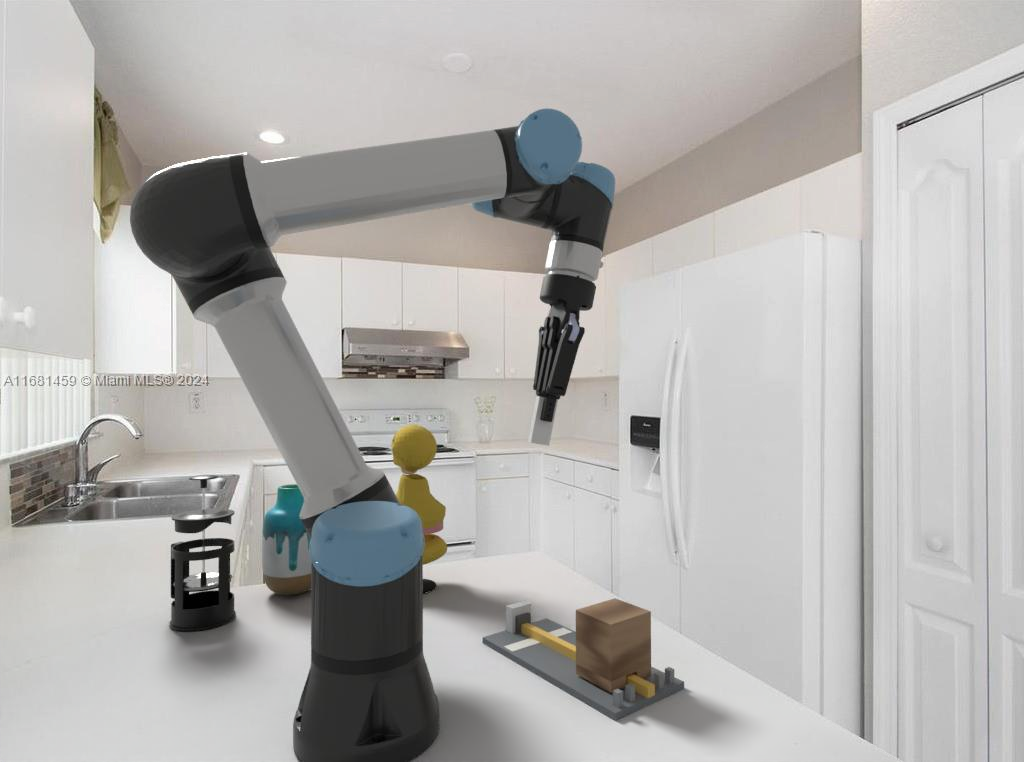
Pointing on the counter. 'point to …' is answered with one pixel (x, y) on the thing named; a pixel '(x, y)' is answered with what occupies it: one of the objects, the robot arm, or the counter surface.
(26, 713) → the counter surface
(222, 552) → the french press
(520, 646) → the sliding block track
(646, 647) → the cardboard box
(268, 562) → the vase
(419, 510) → the toy
